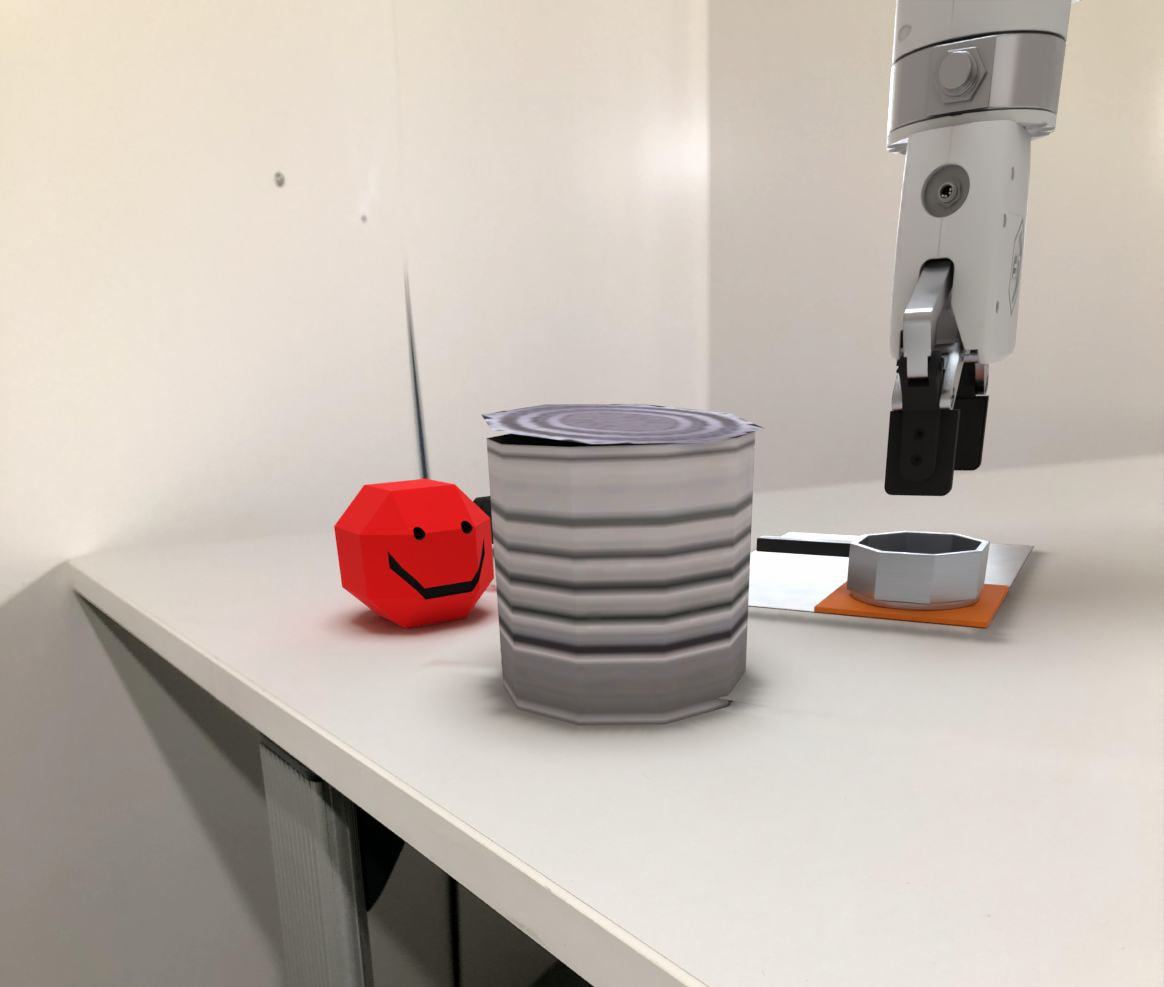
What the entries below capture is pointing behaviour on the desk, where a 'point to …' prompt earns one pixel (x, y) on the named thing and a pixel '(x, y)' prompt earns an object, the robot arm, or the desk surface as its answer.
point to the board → (843, 575)
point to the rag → (965, 616)
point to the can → (621, 559)
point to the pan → (902, 567)
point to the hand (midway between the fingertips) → (935, 481)
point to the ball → (415, 551)
